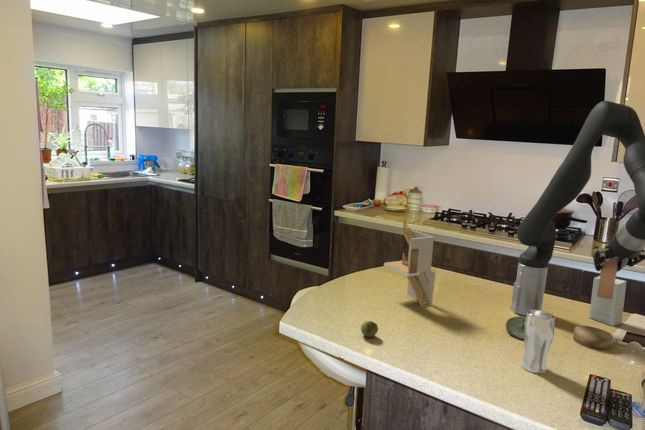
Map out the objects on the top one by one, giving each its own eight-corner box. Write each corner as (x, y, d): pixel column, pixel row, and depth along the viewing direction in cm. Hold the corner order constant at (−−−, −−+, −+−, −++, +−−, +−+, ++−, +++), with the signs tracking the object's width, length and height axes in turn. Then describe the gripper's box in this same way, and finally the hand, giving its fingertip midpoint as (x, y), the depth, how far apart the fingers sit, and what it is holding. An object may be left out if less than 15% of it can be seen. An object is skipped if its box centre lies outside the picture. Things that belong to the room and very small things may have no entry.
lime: (358, 335, 135) (359, 319, 134) (371, 332, 137) (372, 316, 136) (367, 341, 131) (368, 325, 130) (380, 338, 134) (381, 322, 133)
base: (579, 347, 134) (581, 337, 134) (568, 333, 144) (569, 324, 143) (617, 351, 133) (618, 342, 132) (602, 337, 142) (604, 328, 142)
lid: (542, 332, 143) (544, 317, 142) (540, 345, 135) (543, 329, 134) (506, 324, 148) (508, 310, 147) (502, 336, 140) (504, 320, 139)
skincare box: (621, 323, 154) (629, 281, 151) (612, 327, 151) (620, 283, 148) (595, 314, 161) (602, 274, 158) (586, 317, 158) (593, 276, 155)
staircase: (410, 311, 156) (417, 228, 151) (381, 295, 170) (387, 219, 165) (432, 307, 161) (439, 226, 156) (402, 292, 175) (408, 217, 170)
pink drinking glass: (599, 298, 135) (606, 259, 133) (594, 293, 139) (600, 255, 137) (615, 299, 135) (621, 260, 133) (608, 295, 139) (615, 256, 137)
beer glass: (514, 361, 124) (521, 308, 121) (538, 361, 125) (546, 309, 122) (527, 374, 117) (535, 319, 114) (553, 374, 118) (562, 319, 115)
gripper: (657, 228, 125) (628, 260, 139) (600, 224, 127) (578, 256, 141) (664, 252, 120) (634, 282, 134) (606, 247, 123) (582, 278, 136)
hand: (605, 268), depth 137 cm, fingers closed on pink drinking glass, 4 cm apart
